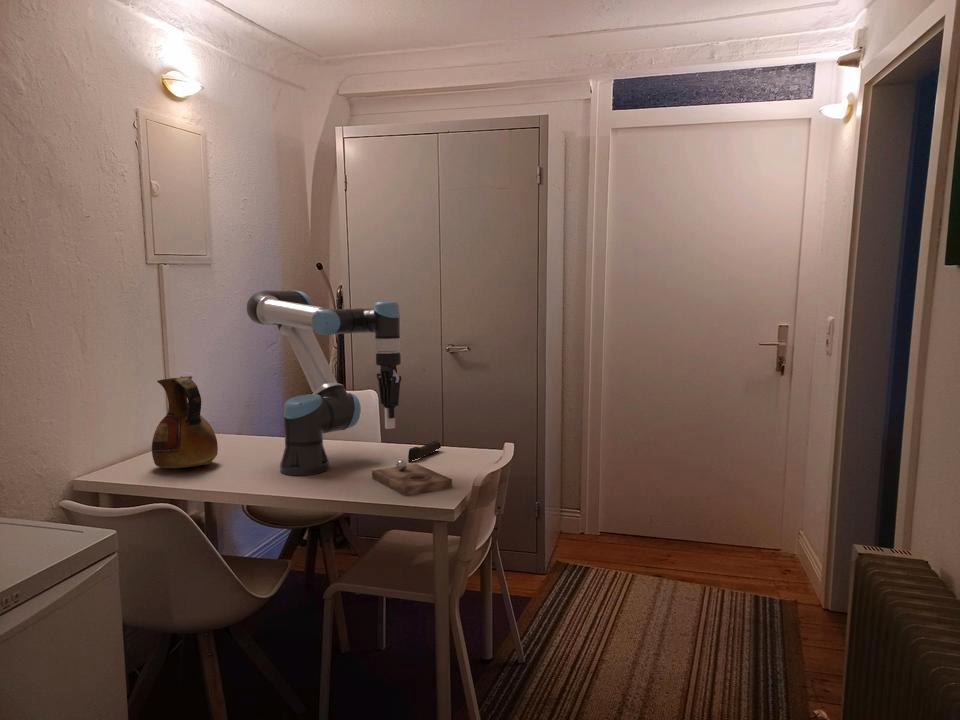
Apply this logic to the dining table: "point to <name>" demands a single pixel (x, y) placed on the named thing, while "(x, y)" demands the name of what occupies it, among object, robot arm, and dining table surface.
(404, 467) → the steel ball
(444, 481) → the walnut plate
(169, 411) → the ceramic pitcher
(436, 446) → the hand tool
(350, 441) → the dining table surface
